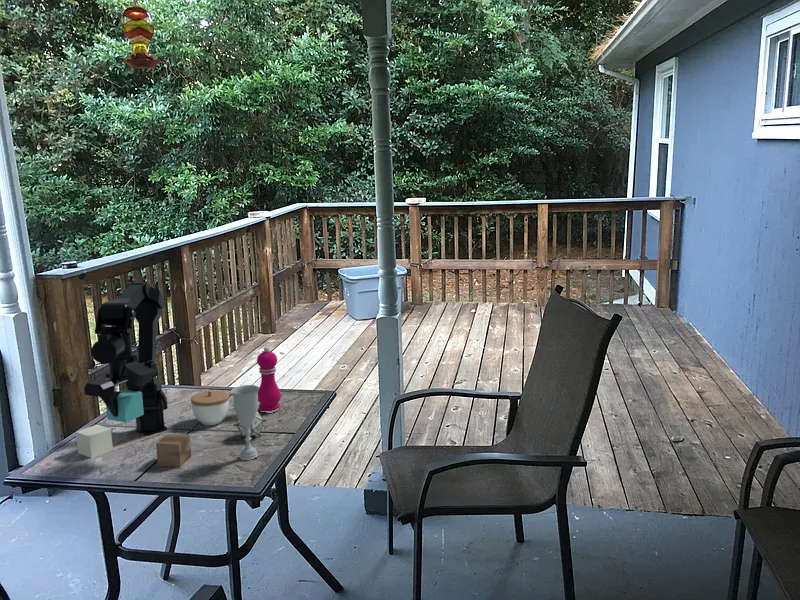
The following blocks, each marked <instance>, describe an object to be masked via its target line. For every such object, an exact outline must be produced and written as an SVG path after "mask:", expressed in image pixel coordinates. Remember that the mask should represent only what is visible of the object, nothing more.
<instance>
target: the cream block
mask: <svg viewBox="0 0 800 600" xmlns="http://www.w3.org/2000/svg"><path fill="white" fill-rule="evenodd" d="M75 436H76V446H77V452H78V454H80V455H81V454H82V456H84V455H85V457H87V458H89V457H90V459H94V458H97V457H99V456H101V454H102V455H105V454H107V453H109V452H112V451H114V447H113V437H112V429H111V428H109V427H106V426H103V425H99V424H95V425H92V426H89V427H86V428H83V429H80V430H78V431H76V432H75ZM106 452H107V453H106ZM98 455H99V456H98ZM96 456H97V457H96Z"/></svg>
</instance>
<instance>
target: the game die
mask: <svg viewBox="0 0 800 600" xmlns="http://www.w3.org/2000/svg"><path fill="white" fill-rule="evenodd" d="M264 422H265V423H266V422H267V420H266V419H264V418H263V417H262V416H261V414H260V411H259V410H257V413H256V416H255V418H254V421H253V423H252V424H250V425H249V429H250V431H251V432H250V437H253V436H258V437H260V436H261V437H262V435H261V434H260V433H261V432H262V431H261V430H262V427H263V424H264ZM232 426H233V427H236V428H237V430H238V432H239V433H240V435H241V440H244V438H246V434H245V433H244V432H245V429H246V427H245V425H242V424H241V422H240V420H239V419H238V418H237V419H236V422H235V423H234V424H232Z"/></svg>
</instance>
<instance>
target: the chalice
mask: <svg viewBox="0 0 800 600" xmlns="http://www.w3.org/2000/svg"><path fill="white" fill-rule="evenodd" d="M259 387H260V386H258V385H254V384H253V385H252V384H251V385H250V384H244V385H239V386H236V387H233V388H232V389H231V390H230V393H232V396H233V397H232V398H233V410H234V413H235V415H236V417H237V419H239V420H240V422H241V424H242V425H245V427H246V429H245V432H244V433H245V434H246V437H244V441H245V442H246V443H245V444H246V445H245V446H244V447H243V448H242V449H241V452H240V453H239V456H240V457H238V459H239V458H240V459H243V460H250V459H254V458H255V457H257V456H258V454H259V453H258V451H257V448H256V447H254V446H252V445H251V440H252V439H253V438H252V436H250V432H251V431H250V429H249V425H250V424H252V423H253V421H254V418H255V416H256V413H257V411H259V401H258V390H259ZM240 459H239V460H240Z"/></svg>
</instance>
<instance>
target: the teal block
mask: <svg viewBox="0 0 800 600" xmlns="http://www.w3.org/2000/svg"><path fill="white" fill-rule="evenodd" d="M118 391H119V392H120V394H119V395H118V397H117V402H118V416H117V417H114V416H113V415H112V413H111V412H110V410H109V409H108V407H107V406H106V405H105V406H106V415H107V420H109V421H114V422H115V421H116V422H119V423H128V422H130V421H133V420H136V418H137V417H139V416H142V415H144V410H143V399H142V392H139V391H132V390H128V389H120V390H118Z"/></svg>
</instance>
